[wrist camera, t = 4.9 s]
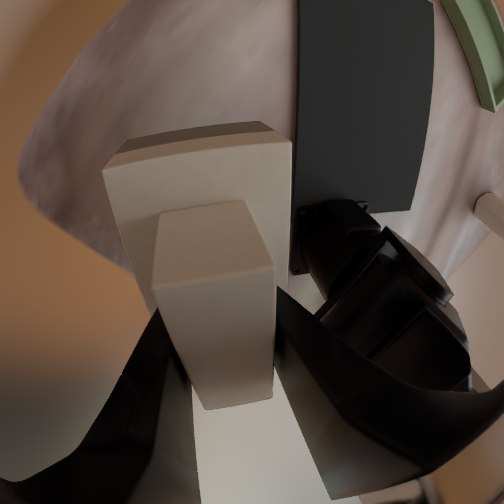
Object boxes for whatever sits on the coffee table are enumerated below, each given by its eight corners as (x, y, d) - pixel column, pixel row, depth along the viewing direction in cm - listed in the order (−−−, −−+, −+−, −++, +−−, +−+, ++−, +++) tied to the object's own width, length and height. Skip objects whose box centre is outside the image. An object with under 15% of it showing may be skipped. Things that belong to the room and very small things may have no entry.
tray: (508, 80, 16) (520, 84, 14) (481, 108, 18) (495, 113, 16) (473, -14, 9) (486, -13, 7) (439, 0, 11) (455, 0, 9)
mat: (407, 208, 23) (410, 210, 23) (290, 219, 21) (291, 221, 21) (429, 3, 11) (433, 3, 11) (295, -44, 9) (298, -46, 9)
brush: (264, 295, 15) (303, 404, 10) (172, 311, 14) (179, 427, 9) (260, 120, 10) (352, 184, 4) (126, 140, 9) (56, 230, 4)
